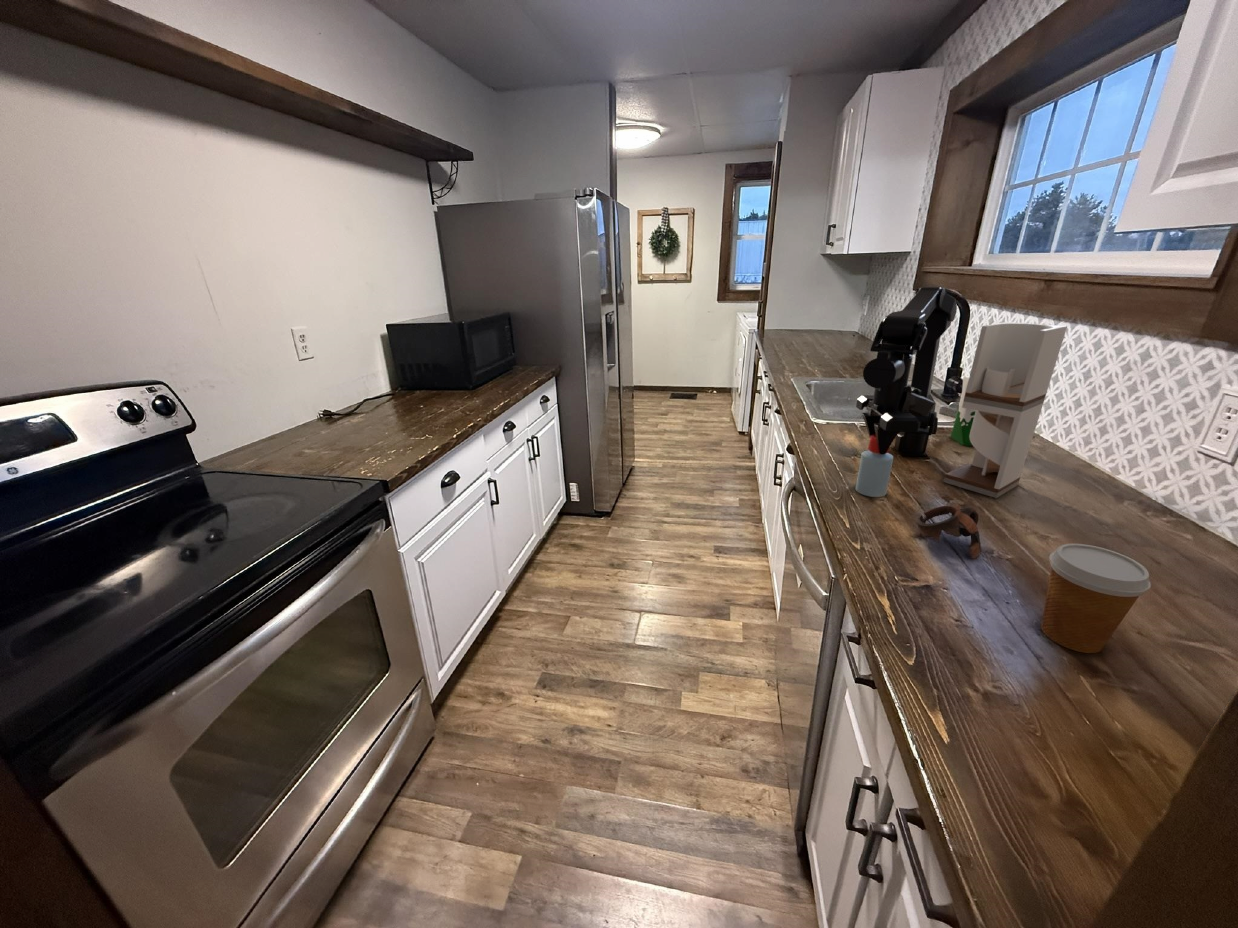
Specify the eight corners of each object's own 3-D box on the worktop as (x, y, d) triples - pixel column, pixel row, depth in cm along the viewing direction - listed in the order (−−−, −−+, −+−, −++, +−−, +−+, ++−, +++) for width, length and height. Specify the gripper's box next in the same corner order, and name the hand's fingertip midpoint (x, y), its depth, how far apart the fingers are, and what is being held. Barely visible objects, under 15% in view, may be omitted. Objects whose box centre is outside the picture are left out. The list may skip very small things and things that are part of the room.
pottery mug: (971, 570, 82) (951, 527, 82) (917, 566, 91) (899, 527, 90) (1004, 532, 87) (986, 492, 86) (950, 532, 96) (933, 495, 95)
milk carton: (961, 446, 135) (980, 374, 128) (944, 436, 144) (961, 367, 136) (995, 447, 135) (1016, 374, 127) (976, 436, 143) (995, 367, 135)
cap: (871, 453, 105) (874, 439, 104) (865, 447, 109) (868, 433, 108) (891, 454, 105) (894, 440, 103) (884, 447, 108) (887, 434, 107)
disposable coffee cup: (1008, 616, 71) (1033, 543, 66) (1070, 611, 71) (1099, 539, 67) (1070, 665, 62) (1103, 586, 57) (1140, 659, 63) (1178, 580, 58)
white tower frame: (966, 470, 120) (1005, 322, 107) (1017, 485, 112) (1067, 326, 99) (943, 481, 114) (982, 326, 101) (996, 498, 106) (1045, 330, 93)
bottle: (880, 485, 113) (890, 436, 108) (890, 497, 107) (901, 445, 103) (852, 484, 114) (860, 435, 109) (860, 496, 108) (869, 444, 103)
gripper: (957, 390, 91) (939, 468, 97) (914, 370, 108) (900, 437, 114) (894, 389, 93) (879, 466, 98) (861, 370, 110) (850, 436, 116)
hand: (878, 450), depth 107 cm, fingers closed on cap, 4 cm apart
